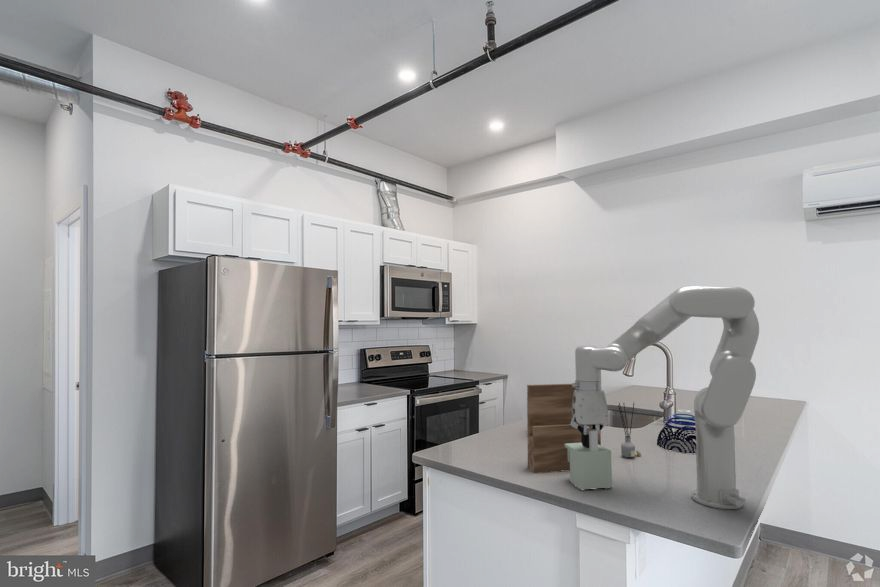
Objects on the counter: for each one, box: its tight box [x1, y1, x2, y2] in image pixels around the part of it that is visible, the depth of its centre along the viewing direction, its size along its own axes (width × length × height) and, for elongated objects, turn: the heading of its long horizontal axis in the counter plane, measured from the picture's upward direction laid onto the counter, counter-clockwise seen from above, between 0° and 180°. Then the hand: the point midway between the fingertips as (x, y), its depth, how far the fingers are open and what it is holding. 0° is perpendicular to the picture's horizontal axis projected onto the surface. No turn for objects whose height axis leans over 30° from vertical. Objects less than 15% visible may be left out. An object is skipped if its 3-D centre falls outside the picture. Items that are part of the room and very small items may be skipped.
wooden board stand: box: [526, 383, 602, 474], centre depth 163 cm, size 6×24×28 cm, turn 101°
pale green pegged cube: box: [564, 427, 613, 490], centre depth 147 cm, size 11×10×17 cm
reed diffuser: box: [617, 402, 642, 458], centre depth 176 cm, size 10×7×20 cm
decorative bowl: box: [656, 409, 696, 454], centre depth 189 cm, size 20×20×14 cm
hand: (589, 446), depth 146 cm, fingers closed on pale green pegged cube
